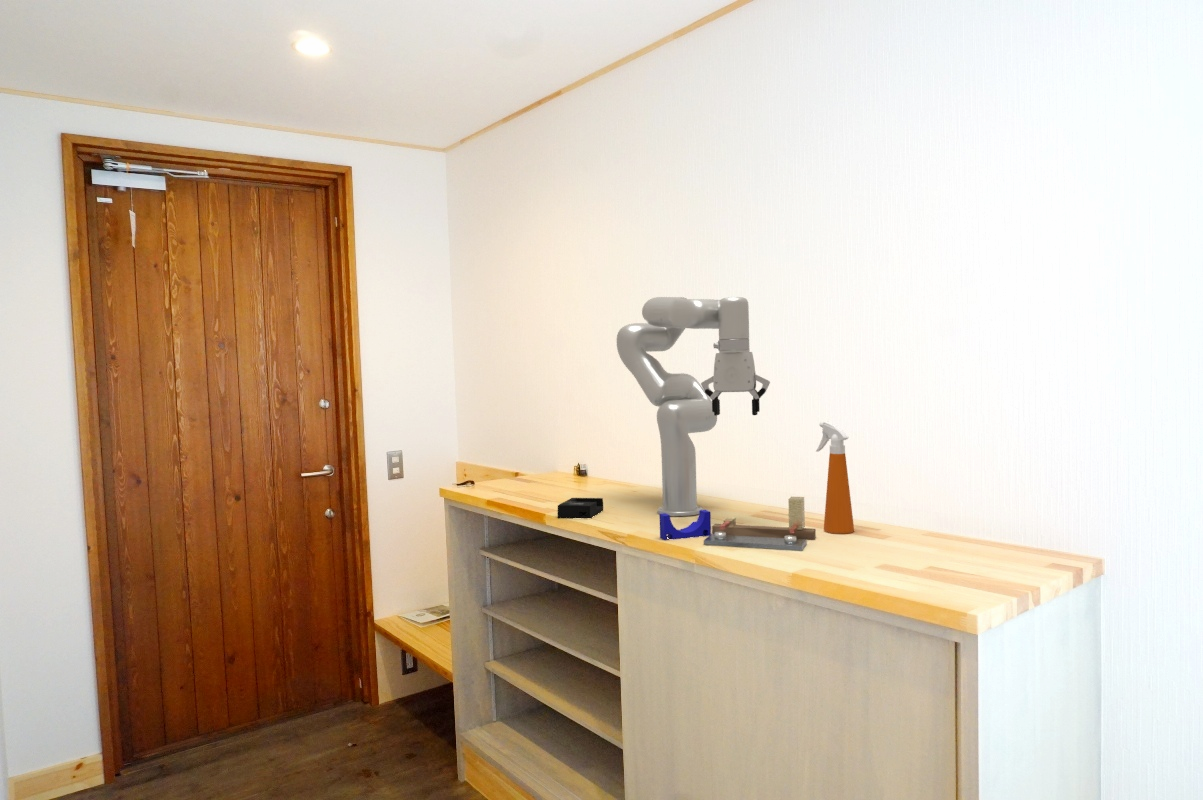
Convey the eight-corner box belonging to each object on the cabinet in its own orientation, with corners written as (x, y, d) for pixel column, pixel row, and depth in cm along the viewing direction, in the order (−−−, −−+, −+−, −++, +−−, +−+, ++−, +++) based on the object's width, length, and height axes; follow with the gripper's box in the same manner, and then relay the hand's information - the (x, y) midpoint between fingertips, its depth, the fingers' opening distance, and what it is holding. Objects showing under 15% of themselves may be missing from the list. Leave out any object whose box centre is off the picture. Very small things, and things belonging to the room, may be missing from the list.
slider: (791, 525, 186) (791, 496, 185) (804, 526, 184) (804, 497, 184) (785, 534, 177) (784, 503, 177) (798, 534, 176) (797, 503, 175)
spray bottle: (829, 524, 197) (827, 420, 196) (860, 531, 187) (858, 422, 186) (807, 527, 194) (805, 421, 193) (837, 535, 184) (835, 424, 183)
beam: (716, 531, 193) (715, 516, 193) (815, 536, 183) (815, 521, 183) (705, 539, 184) (705, 524, 184) (810, 545, 175) (809, 529, 175)
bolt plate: (711, 538, 185) (711, 529, 185) (806, 543, 177) (806, 534, 176) (703, 544, 179) (703, 535, 179) (801, 550, 170) (801, 540, 170)
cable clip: (703, 532, 193) (702, 508, 192) (711, 536, 188) (710, 511, 188) (657, 537, 189) (657, 512, 189) (664, 541, 185) (664, 515, 185)
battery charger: (590, 520, 214) (590, 505, 214) (557, 519, 217) (557, 505, 216) (603, 511, 226) (603, 498, 226) (572, 511, 229) (571, 497, 229)
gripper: (696, 348, 196) (698, 416, 197) (765, 345, 189) (767, 415, 190) (704, 348, 203) (706, 414, 203) (771, 345, 196) (773, 413, 197)
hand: (735, 415), depth 197 cm, fingers open, 9 cm apart
